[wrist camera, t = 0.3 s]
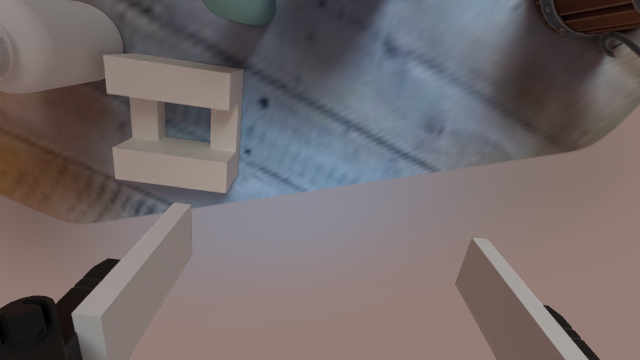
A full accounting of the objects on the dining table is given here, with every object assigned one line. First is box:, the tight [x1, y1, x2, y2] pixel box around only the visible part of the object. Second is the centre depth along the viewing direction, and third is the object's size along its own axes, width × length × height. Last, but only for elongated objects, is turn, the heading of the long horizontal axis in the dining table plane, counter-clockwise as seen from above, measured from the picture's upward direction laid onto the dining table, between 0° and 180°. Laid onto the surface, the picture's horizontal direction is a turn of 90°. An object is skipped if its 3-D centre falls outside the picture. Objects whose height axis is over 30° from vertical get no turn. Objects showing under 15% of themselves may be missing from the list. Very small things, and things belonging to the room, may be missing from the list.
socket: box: [103, 53, 244, 193], centre depth 37 cm, size 13×12×6 cm
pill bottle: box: [0, 0, 124, 94], centre depth 30 cm, size 8×8×15 cm
